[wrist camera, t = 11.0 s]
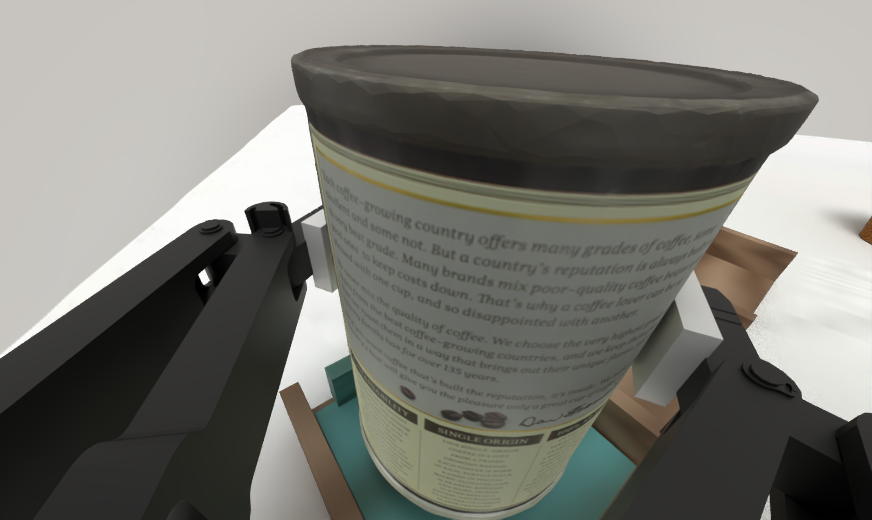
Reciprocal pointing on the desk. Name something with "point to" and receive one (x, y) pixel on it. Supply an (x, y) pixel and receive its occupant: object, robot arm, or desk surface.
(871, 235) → the disposable coffee cup
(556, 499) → the slot rack
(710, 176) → the coffee can
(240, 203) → the desk surface
